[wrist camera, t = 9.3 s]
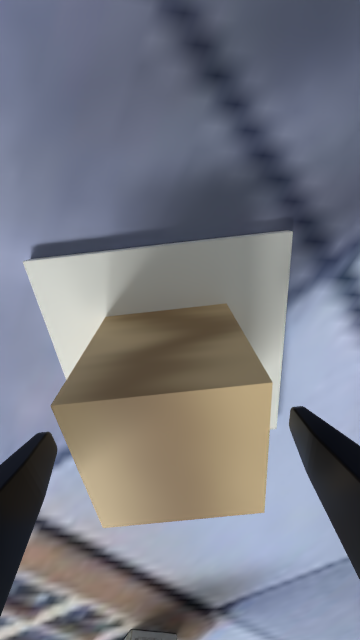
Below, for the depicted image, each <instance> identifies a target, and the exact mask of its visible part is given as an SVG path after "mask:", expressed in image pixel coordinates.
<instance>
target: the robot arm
mask: <svg viewBox="0 0 360 640" xmlns="http://www.w3.org/2000/svg"><path fill="white" fill-rule="evenodd" d="M289 427H290V431H291V433H292V436H293V439H294V441H295V444H296V446H297V449H298V452H299V454H300V457H301V460H302V462H303V465H304V467H305V470H306V472H307V474H308V477H309V479H310V481H311V483H312V485H313V487H314V489H315V491H316V493H317V495H318V497H319V499H320V501H321V503H322V505H323V507H324V509H325V511H326V513H327V515H328V517H329V519H330V521H331V523H332V525H333V527H334V529H335V531H336V533H337V535H338V537H339V539H340V541H341V543H342V545H343V547H344V549H345V551H346V553H347V555H348V557H349V559H350V561H351V563H352V565H353V567H354V569H355V571H356V573H357V575H358V577H359V579H360V446H359V445H358V444H356V443H355V442H354V441H352V440H351V439H349V438H348V437H346V436H345V435H344V434H342V433H341V432H339V431H338V430H336V429H335V428H334V427H332V426H331V425H329V424H328V423H326V422H325V421H324V420H322V419H321V418H319V417H318V416H316V415H315V414H314V413H312V412H311V411H309V410H308V409H306V408H305V407H303V406H298V407H292V408H291V410H290V419H289ZM56 455H57V445H56V443H55V441H54V439H53V437H52V434H51V433H50V432H41V433H37V434H36V435H35V436H34V437H32V438H31V439H30V440H29V441H28V442H26V443H25V444H24V445H23V446H22V447H21V448H19V449H18V450H17V451H16V452H15V453H14V454H12V455H11V456H10V457H9V458H8V459H7V460H5V461H4V462H3V463H2V464H1V465H0V616H1V613H2V611H3V608H4V605H5V603H6V600H7V597H8V595H9V592H10V589H11V587H12V584H13V581H14V579H15V576H16V573H17V571H18V568H19V565H20V563H21V560H22V557H23V555H24V552H25V549H26V546H27V544H28V541H29V538H30V536H31V533H32V530H33V528H34V525H35V522H36V520H37V517H38V514H39V512H40V509H41V506H42V504H43V501H44V498H45V495H46V491H47V488H48V484H49V480H50V477H51V473H52V469H53V466H54V462H55V458H56Z"/></svg>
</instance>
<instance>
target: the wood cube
mask: <svg viewBox="0 0 360 640" xmlns="http://www.w3.org/2000/svg"><path fill="white" fill-rule="evenodd" d="M272 385H273V382H272V380H271V379H270V377H269V375H268V374H267V372H266V370H265V368H264V367H263V365H262V363H261V362H260V360H259V358H258V356H257V355H256V353H255V351H254V350H253V348H252V346H251V344H250V343H249V341H248V339H247V338H246V336H245V334H244V332H243V331H242V329H241V327H240V326H239V324H238V322H237V320H236V319H235V317H234V315H233V314H232V312H231V310H230V308H229V307H228V305H227V303H226V304H217V305H208V306H199V307H190V308H181V309H171V310H162V311H153V312H144V313H135V314H126V315H117V316H108V317H105V319H104V320H103V322H102V323H101V325H100V327H99V328H98V330H97V331H96V333H95V335H94V336H93V338H92V340H91V341H90V343H89V344H88V346H87V348H86V349H85V351H84V352H83V354H82V356H81V357H80V359H79V361H78V362H77V364H76V365H75V367H74V369H73V370H72V372H71V374H70V375H69V377H68V378H67V380H66V382H65V383H64V385H63V386H62V388H61V390H60V391H59V393H58V395H57V396H56V398H55V399H54V401H53V403H52V404H51V408H52V410H53V413H54V415H55V417H56V420H57V422H58V424H59V427H60V429H61V431H62V434H63V436H64V438H65V441H66V443H67V445H68V448H69V450H70V452H71V455H72V457H73V459H74V462H75V464H76V466H77V469H78V471H79V473H80V476H81V478H82V480H83V483H84V485H85V487H86V490H87V492H88V494H89V497H90V499H91V501H92V503H93V506H94V508H95V510H96V513H97V515H98V517H99V520H100V522H101V524H102V527H103V528H109V527H120V526H130V525H141V524H151V523H161V522H172V521H182V520H193V519H203V518H213V517H224V516H234V515H245V514H255V513H264V509H265V494H266V478H267V463H268V447H269V432H270V416H271V401H272Z"/></svg>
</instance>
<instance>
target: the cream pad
mask: <svg viewBox="0 0 360 640" xmlns="http://www.w3.org/2000/svg"><path fill="white" fill-rule="evenodd" d="M292 237H293V231H288V230H285V231H276V232H268V233H259V234H250V235H241V236H232V237H223V238H214V239H205V240H196V241H187V242H178V243H170V244H161V245H152V246H143V247H134V248H125V249H116V250H107V251H98V252H89V253H81V254H72V255H63V256H54V257H45V258H36V259H29V260H26V261H23V264H24V266H25V269H26V272H27V275H28V277H29V280H30V283H31V285H32V288H33V291H34V293H35V296H36V299H37V302H38V304H39V307H40V310H41V312H42V315H43V318H44V321H45V323H46V326H47V329H48V331H49V334H50V337H51V339H52V342H53V345H54V348H55V350H56V353H57V356H58V358H59V361H60V364H61V367H62V369H63V372H64V375H65V377H66V380H67V378H68V377H69V375H70V374H71V372H72V370H73V369H74V367H75V365H76V364H77V362H78V361H79V359H80V357H81V356H82V354H83V352H84V351H85V349H86V348H87V346H88V344H89V343H90V341H91V340H92V338H93V336H94V335H95V333H96V331H97V330H98V328H99V327H100V325H101V323H102V322H103V320H104V319H105V317H108V316H117V315H126V314H135V313H144V312H153V311H162V310H171V309H181V308H190V307H199V306H208V305H217V304H226V303H227V305H228V307H229V308H230V310H231V312H232V314H233V315H234V317H235V319H236V320H237V322H238V324H239V326H240V327H241V329H242V331H243V332H244V334H245V336H246V338H247V339H248V341H249V343H250V344H251V346H252V348H253V350H254V351H255V353H256V355H257V356H258V358H259V360H260V362H261V363H262V365H263V367H264V368H265V370H266V372H267V374H268V375H269V377H270V379H271V380H272V382H273V385H272V401H271V416H270V429H276V428H277V416H278V404H279V392H280V380H281V369H282V357H283V345H284V333H285V321H286V309H287V297H288V285H289V273H290V261H291V249H292Z"/></svg>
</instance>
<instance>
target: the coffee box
mask: <svg viewBox="0 0 360 640" xmlns="http://www.w3.org/2000/svg"><path fill="white" fill-rule="evenodd" d="M124 640H177V635H176V634H173V633H163V632H152V631H141V630H131V631H130V632H129V633H128V635H127V636H126V637H125V639H124Z"/></svg>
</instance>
